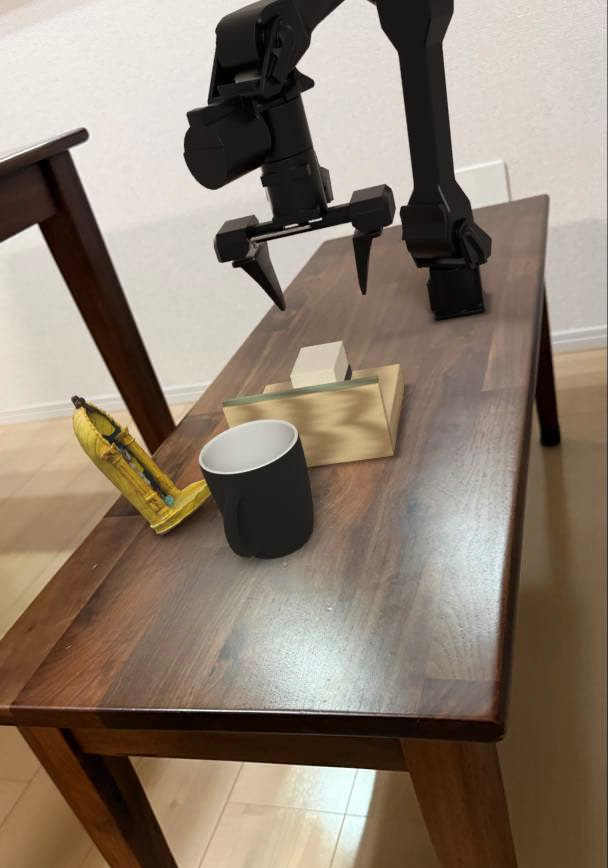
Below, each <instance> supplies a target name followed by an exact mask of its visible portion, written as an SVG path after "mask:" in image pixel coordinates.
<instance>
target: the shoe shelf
mask: <svg viewBox="0 0 608 868" xmlns="http://www.w3.org/2000/svg"><path fill="white" fill-rule="evenodd" d="M402 373H403V372H402V368H401V363H396V364H390V365H389V364H388V365H383V366H377V367H371V368H365V369H357V370H352V376H351V380H346V381H340V382H333V383H327V384H321V385H314V386H308V387H302V388H296V389H293V385H292V381H291V380H290V381H284V382H278V383H271V384H266V385H265V388H264V390H263V391H262V393H258V394H253V395H246V396H239V397H233V398H227V399H222V401H221V404H222V411H223V414H224V417H225V420H226V422H227V426H228V429H230V428H232V427H235V426H238V425H240V424H244V423H247V422H251V421H256V420H264V419H277V420H283V421H286V422H289V423H291V424H292V425H294V426H295V427H296V429H297V431H298V433H299V436H300V439H301V443H302V446H303V450H304V455H305V459H306V463H307V468H311V467H312V468H313V467H318V466H326V465H327V466H328V465H333V464H341V463H349V462H355V461H356V462H358V461H364V460H373V459H379V458H380V459H381V458H387V457H389V458H390V457H393V456H394V455H395V450H396V443H397V437H398V429H399V424H400V418H401V412H402V407H403V406H402V404H403V398H404V391H405V384H404V378H403V374H402Z"/></svg>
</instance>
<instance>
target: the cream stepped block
mask: <svg viewBox="0 0 608 868" xmlns="http://www.w3.org/2000/svg"><path fill="white" fill-rule="evenodd" d="M346 354H347V353H346V350H345V346H344V342H343V340H338V341H333V342H327V343H323V344H316V345H310V346H305V347H304V346H303V347H301V348H300V350H299V353H298V355H297V358H296V360H295V363H294V365H293V368H292V370H291V373H290V375H289V377H290V381H292V385H293V389H296V388H302V387H308V386H314V385H321V384H327V383H333V382H340V381H346V380H351V376H352V371H353V370H352V367H351V364H350V363H348V358H347V355H346Z"/></svg>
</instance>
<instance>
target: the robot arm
mask: <svg viewBox="0 0 608 868" xmlns="http://www.w3.org/2000/svg"><path fill="white" fill-rule="evenodd" d="M345 1H346V0H258V1H255V2H253V3H250V4H247V5H245V6H243V7H241V8H239V9H237V10H235V11H232V12H230V13H227V14H226V15H224V16H222V17H221V19H220V20H219V22H218V23H217V25H216V27H215V29H214V33H215V48H214V56H213V61H212V68H211V75H210V81H209V88H208V94H207V105H206V106H201V107H200V106H199V107H196V108H193V109H191V110H188V111H186V114H185V115H186V120H187V122H188V125H189V127H188V128H187V130H186V131H185V134H184V136H183V153H182V154H183V155H182V156H183V159H184V163H185V164H186V165H185V166H186V167H187V169H188V171H189V172H190V174H191V176H192V177H193V179H195V181H196V182H197V183H198V184H199V185H200V186H202V187H204V188H205V189H206V190H211V191H217V190H220V189H221V188H223V187H225V186H227V185H229V184H231V183H233V182H235V181H237V180H239V179H240V178H243V177H244V176H246V175H249V174H250V173H252V172H254V171H255V170H257V169H259V171H260V174H261V175H260V177H259V178H260V179H259V180H260V183H261V185H262V188H264V190H265V191H264V192H265V196H266V200H267V202H268V203H269V207H270V210H271V215H272V217H271V220H268V221H263V222H260V221H259V219H258V217H257V216H256V215H255V214H250V215H247V216H242V217H237V218H234V219H229V220H225V221H224V223H223V224H222V226H221V227H220V228H219V230H218V231H217V233H216V234H215V236H214V238H213V240H212V241H213V243H212V244H213V250H214V253H215V255H216V259H217V262H218V263H221V264H224V263H229V262H231V267H232V268H233V269H239V268H240V269H242V270H243V272H245V273H246V274H247V275H248V276H249V277H250V278H251V279H252V280H253V281H254V282H256V283H257V285H259V287H260V288H261V289H262V290H263V291H264V293H266V295H267V296H268V297H269V298H270V300H271V301H272V302H273V303H274V304H275V306H276V307H277V308H278V309H279V310H280V311H281V312H285V311H286V309H287V304H286V300H285V296H284V292H283V289H282V287H281V284H280V281H279V278H278V276H277V273H276V271H275V268H274V265H273V263H272V259H271V256H270V250H269V245H268V242H271V241H274V240H278V239H283V238H287V237H292V236H296V235H301V234H304V233H305V234H306V233H310V232H314V231H319V230H324V229H327V228H332V227H336V226H340V225H341V226H342V225H345V224H349V223H351V227H352V228H354V230H353V234H352V237H351V240H352V248H353V253H354V254H353V255H354V260H355V261H354V262H355V267H356V274H357V280H358V281H357V282H358V286H359V290H360V292H361V295H362V296H366V295H367V291H368V283H369V282H368V280H369V268H370V258H371V257H370V256H371V249H372V244H373V240H374V239H377V238H380V237H381V236H382V235H383V231H384V228H387V227H389V226H391V225H393V224H394V219H395V215H396V210H397V205H396V201H395V195H394V190H393V189H392V187H390V186H389V185H388V184H386V183H382V184H378V185H374V186H370V187H365V188H361V189H357V190H353V191H352V194H351V197H350V200H349V201H348V202H346V203H341V204H337V205H333V206H329V205H328V204H331V203H332V201H334V200H335V198H334V192H333V187H332V181H331V175H330V170H329V169H328V168H326V167H324V166H321V164H320V163H319V159H318V156H317V153H316V150H315V147H314V143H313V139H312V135H311V134H312V133H311V130H310V126H309V121H308V117H307V114H306V110H305V105H304V101H303V97H302V94H303V93H305V92H307V91H309V90H311V89H313V88H314V87H315V85H316V82H315V80H314V79H313V78H311V77H310V76H309V75H307V74H304V73H302V72H301V71H300V70H299V69H298V68H297V65H298V64H299V62H300V61H301V60H302V58H303V57H304V56H305V54H306V53H307V51H308V50H309V49H310V47H311V44H312V43H311V42H312V35H313V32H314V31H315V29H316V28H317V26H319V24H321V23H322V22H323V21H324V20H325V19H326V18H328V17H329V16H330V15H331V13H333V12H334V11H336V9H337V8H338V7H340V5H342V4H343V3H344V2H345ZM366 1H367V2H369V3H370V4H372V5H374V6H375V8H376V12H377V17H378V22H379V26H380V29H381V31H382V32H383V33H384V34H385V36H386V37H387V39H388V40H389V41H388V42H390V44H391V45H392V46H393V48H394V49H395V51H396V52H397V57H398V67H399V73H400V74H399V75H400V82H401V89H402V90H401V92H402V98H403V106H404V108H403V109H404V115H405V117H404V118H405V125H406V133H407V141H408V151H409V160H410V165H411V166H410V167H411V174H412V183H413V184H412V185H413V186H412V187H413V188H412V191H411V194H410V196H409V198H408V201H407V203H406V205H401V206H400V209H399V218H400V223H401V231H402V233H401V241H404V243H405V247H406V250H407V252H408V253H409V254H410V256H411V258H412V260H413V262H414V265H415V267H416V268H417V269H422V268H426V269H427V268H428V273H429V274H428V275H427V277H426V290H427V294H428V300H429V307H430V311H431V312H432V313H434V320H435V321H441V320H447V319H452V318H453V319H454V318H459V317H463V316H470V315H476V314H481V313H484V312H486V291H485V290H484V286H483V277H482V272H481V266H482V265H485V264H488V262H489V261H488V259H489V258H490V257H491V256H492V246H493V239H492V237H491V236H490V235H489V234H488V233H487V232H486V231H485V230H484V229H483V228H482V227H480V226H479V225H478V224H477V223H476V222H475V218H474V214H473V209H472V203H471V200H470V199H469V197H468V195H467V194H466V193H465V191H464V190H463V188H462V187H461V186H460V184H459V182H458V181H457V180H456V175H455V165H454V153H453V144H452V143H453V142H452V131H451V121H450V110H449V101H448V99H449V98H448V89H447V79H446V68H445V57H444V46H443V45H444V44H443V42H444V39H445V37H446V34H447V32H448V29H449V27H450V24H451V22H452V19H453V16H454V13H455V0H366Z"/></svg>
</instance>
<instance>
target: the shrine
mask: <svg viewBox="0 0 608 868" xmlns="http://www.w3.org/2000/svg"><path fill="white" fill-rule="evenodd" d="M70 401H71V403H72V405H74V407H75V408H74V410H73V412H72V417H71V421H72V428H73V431H74V434H75V437H76V439H77V441H78V443H79V445H80V447H81V449H82V450H83V452H84V453H85V454H86V455H87V457H88V458H89V459H90V461H91V462H92V463H93V465H95V467H96V468H97V469H98V470H99V471H100V472H101V473H102V475H104V477H106V479H107V480H109V482H110V483H111V484H112V485H113V486H114V487H115V488H116V489H117V490H118V491H119V492H120V493H121V494H122V495H123V497H125V498H126V499H127V500H128V501H129V502H130V504H131V505H133V507H134V508H135V509H136V510H137V511H138V512H139V513H140V514H141V516H143V518H145V520H147V522H148V523H149V524H150V525H149V526H150V529H153V530H154V531H155V534H156V535H158V536H163V535H165V534H167V533H170V532H171V531H172V530H173V529H174V528H175V527H177V526H178V525H180V524H181V523H183V522H184V521H185V520H186V519H188V518H190V517H191V516H192V515H193V514H194V513H196V512H197V510H199V509H200V508H201V507H202V506H203V504H205V503H206V502H207V501H208V499H210V498H211V497H212V495H211V493H210V490H209V488H208V486H207V483H206V481H205V479H202V480H198V481H195V482H192V483H190V484H189V485H187V486H186V487H185V488H183V489H181V490H180V489H178V487H176V486H175V484H174V482H173V480H171V479H170V478H169V476H168V475H167V474H165V473H164V472H163V471H162V470H161V469H160V467H158V465H157V464H156V462H155V461H154V460H153V459H152V458H151V456H150V455H149V454H148V453H147V452H146V451H145V450H144V448H143V447H142V446H140V445H139V443H138V442H137V441H136V438H135V437H133V436H132V434H130V431H129V427H128V425H125V426H124V427H123V426H122V424H120V423H119V422H118V421H116V420H115V418H114V417H113V416H111V415H110V413H106V410H103V409H102V408H99V407H98V406H97V405H95V403H91V402H87V401H86V399H85V398H84V397H82V396H78V395H77V394H74V395H73V396H71V397H70Z"/></svg>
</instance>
